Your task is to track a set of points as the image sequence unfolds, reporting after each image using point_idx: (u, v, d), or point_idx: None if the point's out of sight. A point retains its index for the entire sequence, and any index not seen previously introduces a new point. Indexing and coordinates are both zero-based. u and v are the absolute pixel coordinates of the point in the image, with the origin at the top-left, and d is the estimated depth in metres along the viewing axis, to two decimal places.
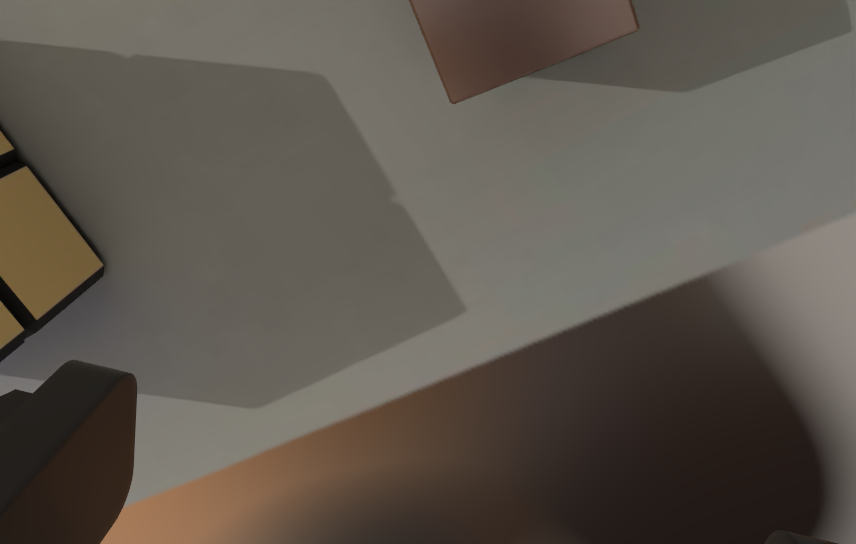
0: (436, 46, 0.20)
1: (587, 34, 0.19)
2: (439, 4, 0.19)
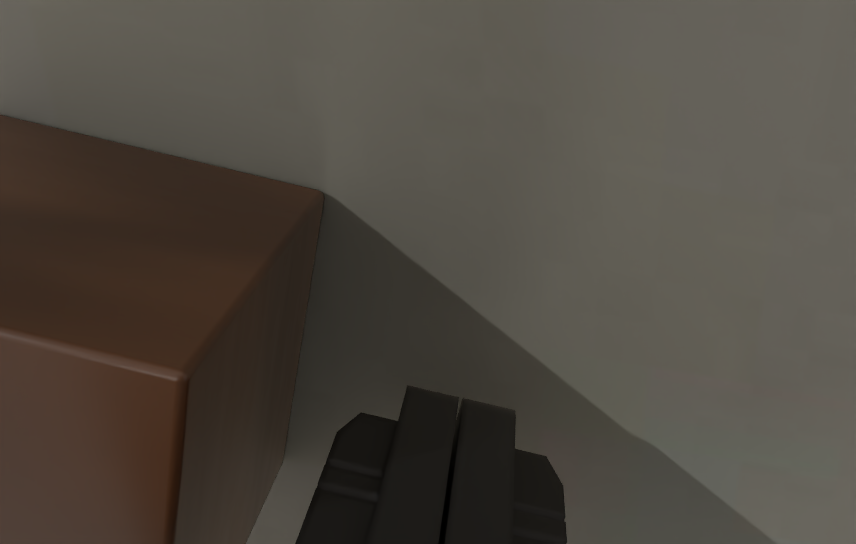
0: None
1: None
2: None
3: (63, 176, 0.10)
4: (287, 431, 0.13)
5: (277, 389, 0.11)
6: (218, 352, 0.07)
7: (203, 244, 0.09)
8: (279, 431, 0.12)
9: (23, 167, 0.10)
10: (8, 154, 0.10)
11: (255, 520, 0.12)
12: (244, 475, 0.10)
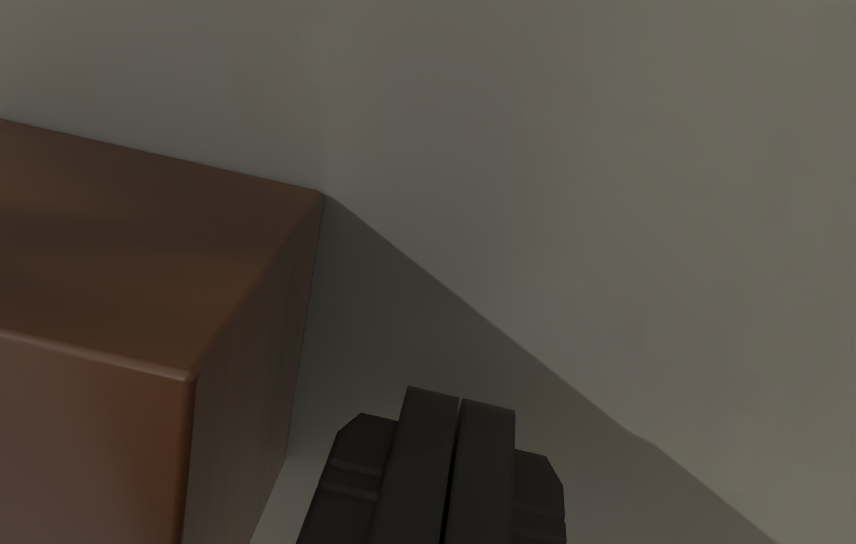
0: None
1: None
2: None
3: (64, 179, 0.10)
4: None
5: (279, 389, 0.11)
6: (224, 352, 0.07)
7: (205, 245, 0.09)
8: (280, 432, 0.12)
9: (23, 171, 0.10)
10: (8, 158, 0.10)
11: (257, 521, 0.12)
12: (247, 475, 0.10)
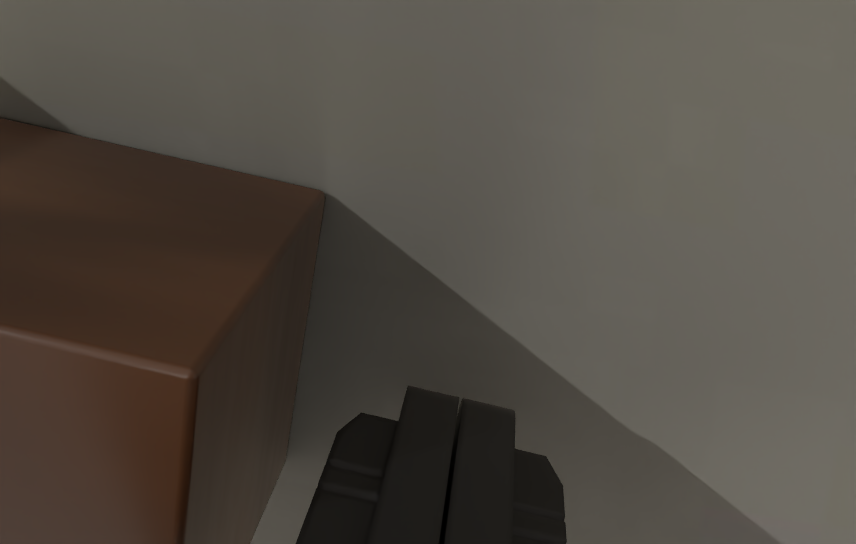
0: None
1: None
2: None
3: (66, 178, 0.10)
4: None
5: (280, 388, 0.11)
6: (226, 350, 0.07)
7: (207, 244, 0.09)
8: (282, 430, 0.12)
9: (26, 169, 0.10)
10: (10, 157, 0.10)
11: (259, 519, 0.12)
12: (249, 474, 0.10)
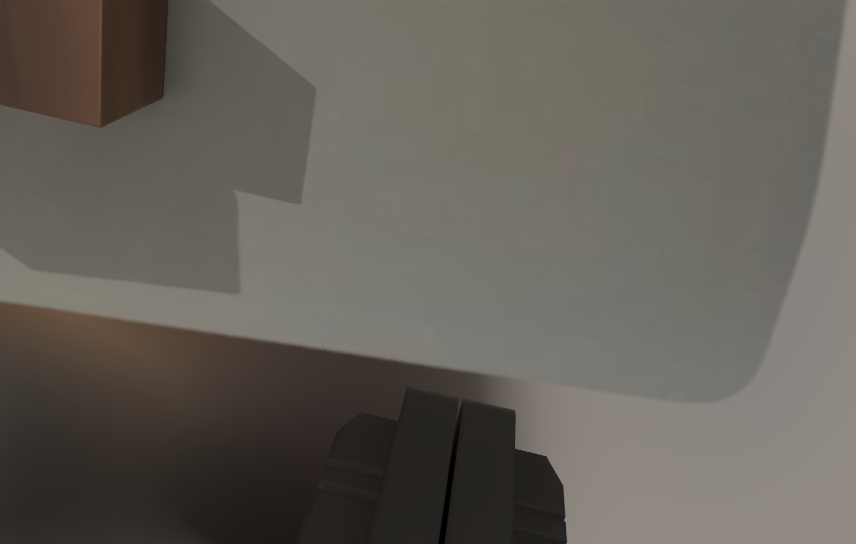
0: None
1: (67, 109, 0.26)
2: None
3: None
4: None
5: (151, 42, 0.29)
6: None
7: None
8: (156, 70, 0.30)
9: None
10: None
11: (146, 103, 0.30)
12: (135, 61, 0.28)
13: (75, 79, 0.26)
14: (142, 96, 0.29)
